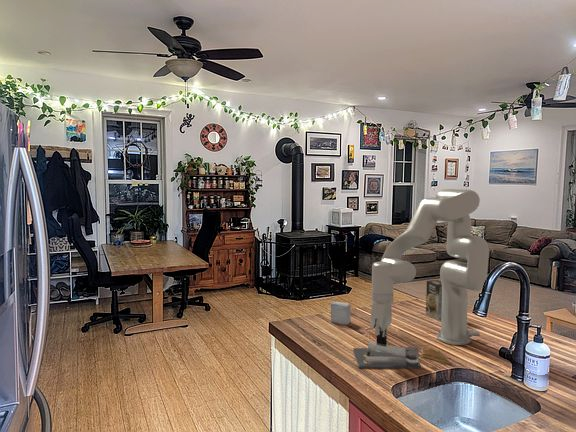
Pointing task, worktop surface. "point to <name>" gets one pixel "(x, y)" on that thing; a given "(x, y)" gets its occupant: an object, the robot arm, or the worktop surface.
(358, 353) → the divider base plate
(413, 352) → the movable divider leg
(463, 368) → the worktop surface
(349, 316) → the medicine box
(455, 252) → the robot arm
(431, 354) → the shard
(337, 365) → the worktop surface
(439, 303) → the coffee box
